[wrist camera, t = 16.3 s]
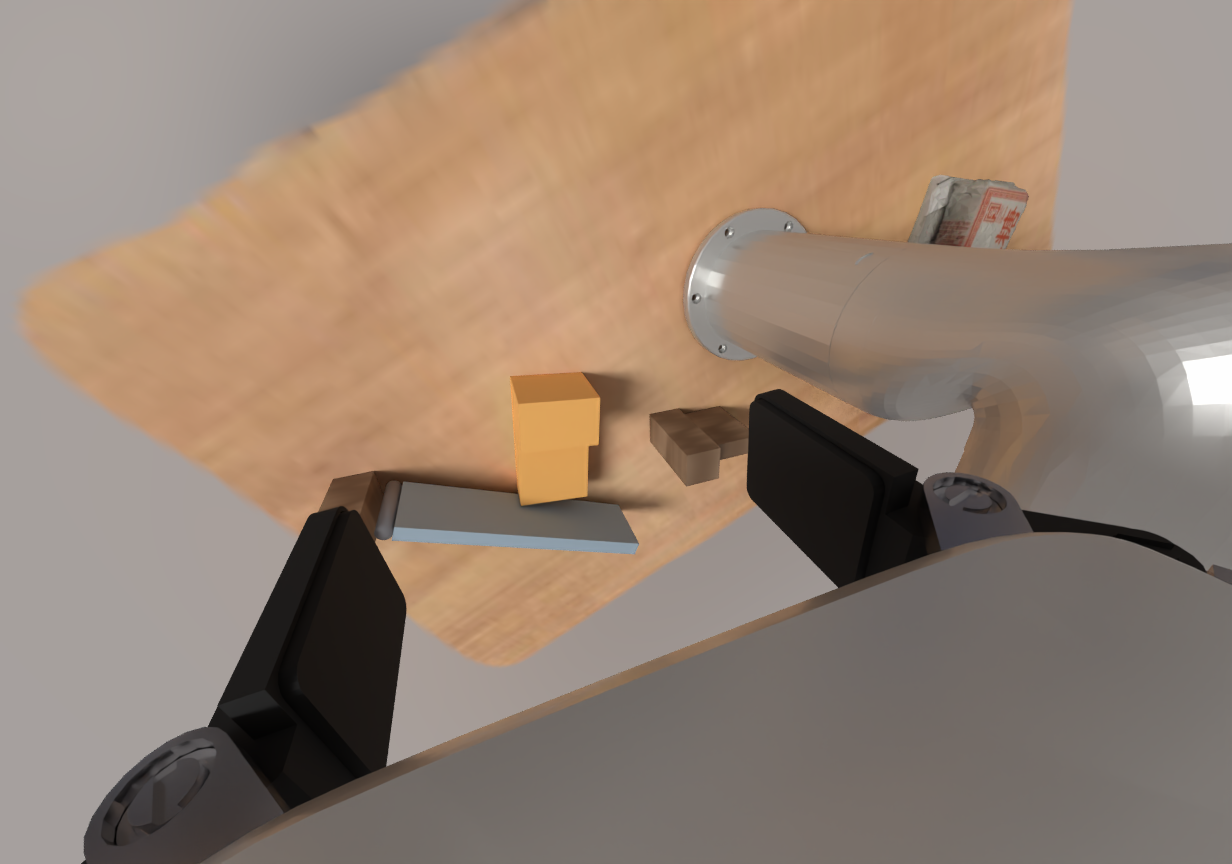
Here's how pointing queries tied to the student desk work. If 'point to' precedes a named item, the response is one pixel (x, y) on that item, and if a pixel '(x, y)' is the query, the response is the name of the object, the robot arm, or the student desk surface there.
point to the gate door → (500, 520)
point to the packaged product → (969, 213)
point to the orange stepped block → (553, 435)
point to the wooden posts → (675, 435)
